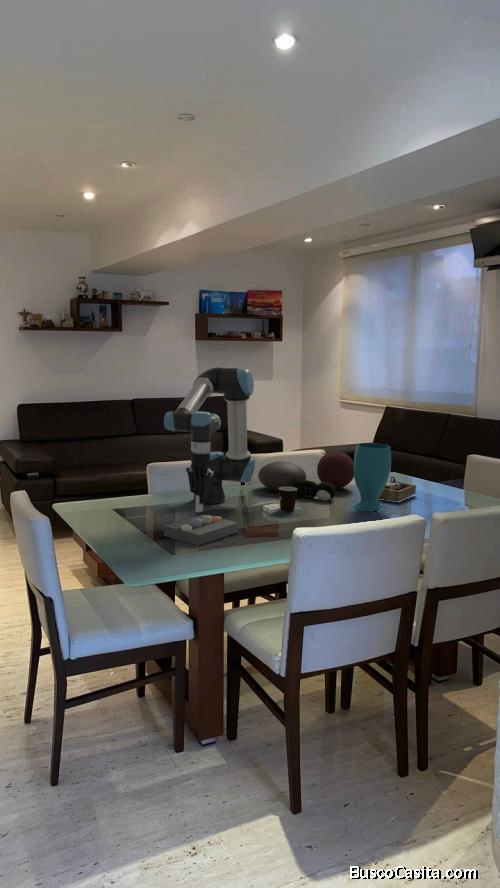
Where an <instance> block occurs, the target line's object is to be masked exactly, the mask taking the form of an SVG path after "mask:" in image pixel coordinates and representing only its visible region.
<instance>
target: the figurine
mask: <svg viewBox="0 0 500 888" xmlns="http://www.w3.org/2000/svg"><path fill="white" fill-rule="evenodd" d="M294 488H297V489H298V490H297V496H296V498H303V499H313V498H317V499H319V500H320V501H323V502H328V501H331V500H333V498H335V495H336V489H335V487H334V486H333V485H332V484H331V483H328V482H321V481H320V482H319V483H317V482H316V481H313V480H309V479H308V480H307V479H306V480H303V479H297V480H296V482H295V487H294Z"/></svg>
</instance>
